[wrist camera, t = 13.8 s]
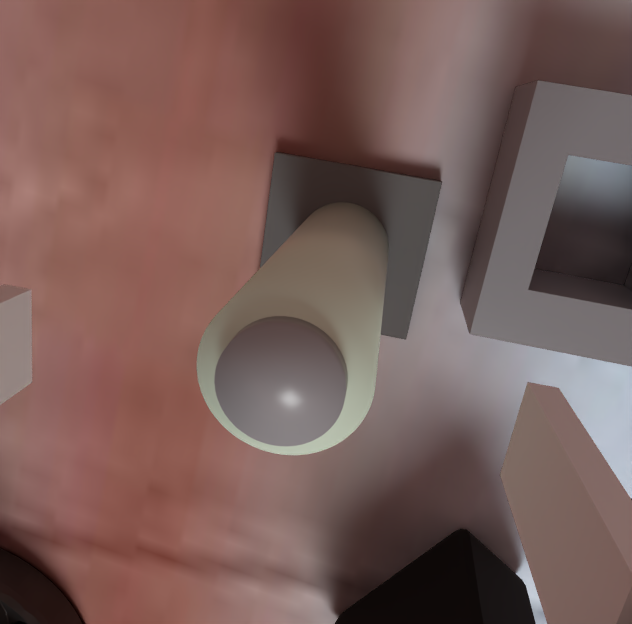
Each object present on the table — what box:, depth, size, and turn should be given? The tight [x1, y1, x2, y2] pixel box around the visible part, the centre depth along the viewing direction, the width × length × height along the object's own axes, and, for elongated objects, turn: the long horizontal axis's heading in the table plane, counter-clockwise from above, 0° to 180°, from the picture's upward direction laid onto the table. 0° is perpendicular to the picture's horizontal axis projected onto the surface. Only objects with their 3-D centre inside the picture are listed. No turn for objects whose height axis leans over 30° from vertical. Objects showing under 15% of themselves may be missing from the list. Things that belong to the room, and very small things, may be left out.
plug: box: [197, 202, 389, 455], centre depth 18 cm, size 4×4×14 cm
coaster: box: [260, 152, 442, 339], centre depth 25 cm, size 7×7×1 cm
